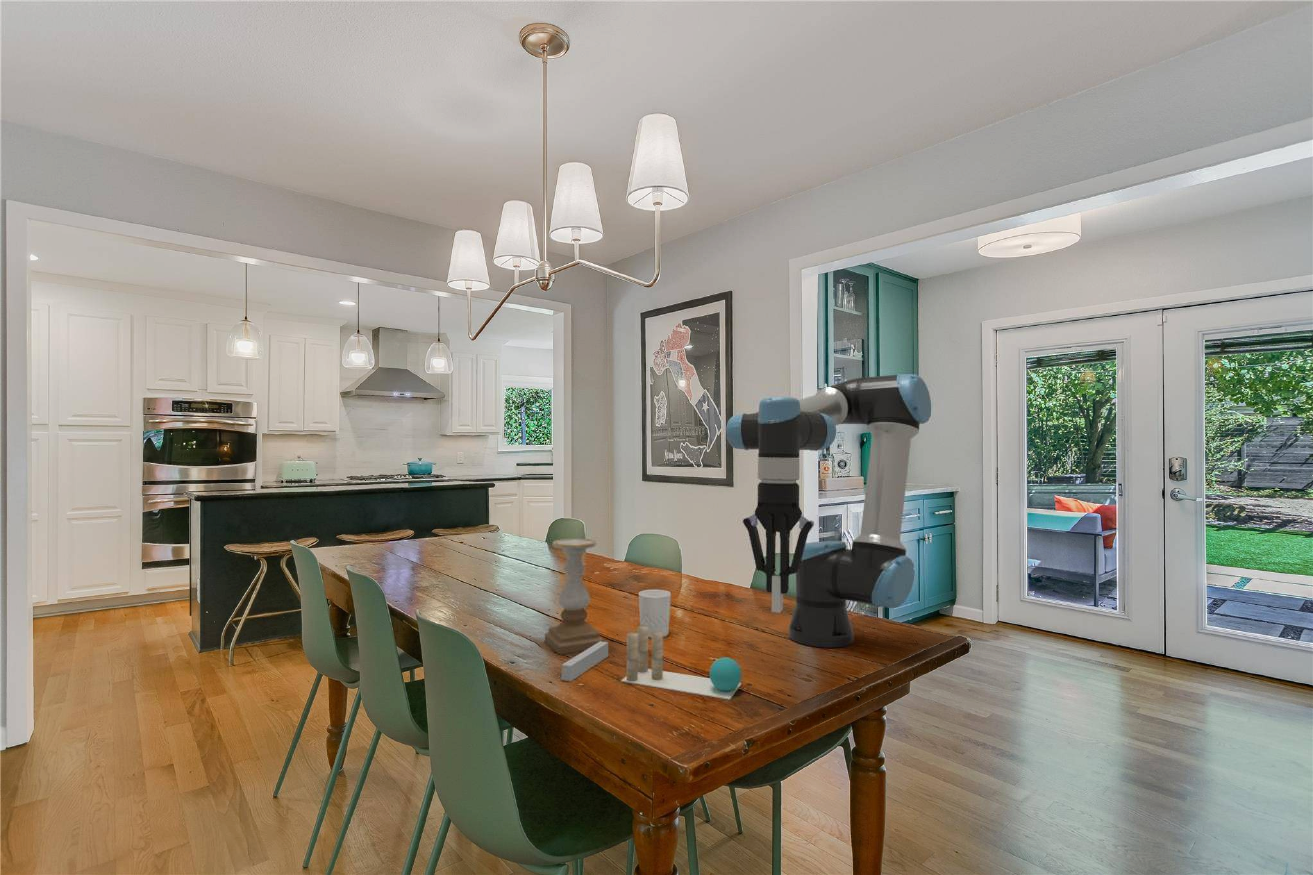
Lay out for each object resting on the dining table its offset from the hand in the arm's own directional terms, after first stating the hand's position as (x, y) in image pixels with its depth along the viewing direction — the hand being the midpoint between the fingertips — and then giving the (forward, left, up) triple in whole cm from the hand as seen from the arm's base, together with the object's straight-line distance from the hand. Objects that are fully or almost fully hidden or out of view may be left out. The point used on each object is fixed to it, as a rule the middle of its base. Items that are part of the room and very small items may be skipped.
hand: (777, 610), depth 114 cm
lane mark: (+19, 0, -16) cm, 25 cm away
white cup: (+36, -27, -16) cm, 48 cm away
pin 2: (+28, -3, -16) cm, 33 cm away
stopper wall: (+40, 0, -16) cm, 43 cm away
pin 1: (+28, +2, -16) cm, 33 cm away
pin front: (+24, 0, -16) cm, 29 cm away
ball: (+10, 0, -13) cm, 16 cm away
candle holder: (+50, -12, -16) cm, 54 cm away
